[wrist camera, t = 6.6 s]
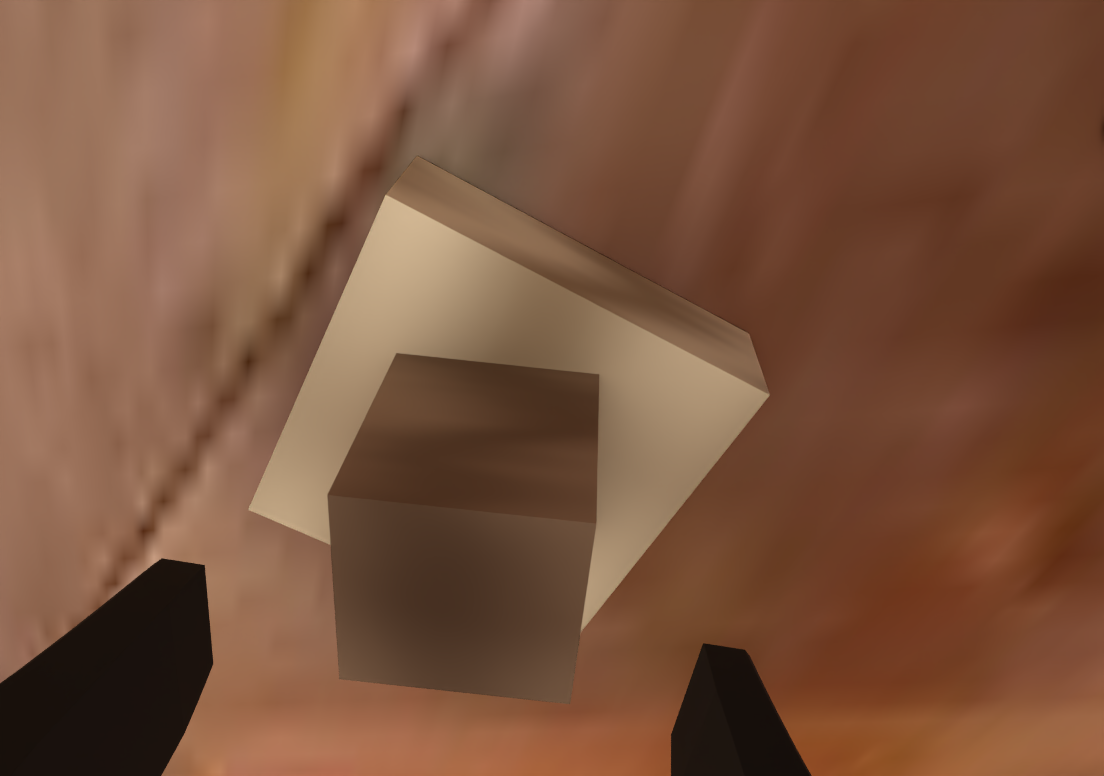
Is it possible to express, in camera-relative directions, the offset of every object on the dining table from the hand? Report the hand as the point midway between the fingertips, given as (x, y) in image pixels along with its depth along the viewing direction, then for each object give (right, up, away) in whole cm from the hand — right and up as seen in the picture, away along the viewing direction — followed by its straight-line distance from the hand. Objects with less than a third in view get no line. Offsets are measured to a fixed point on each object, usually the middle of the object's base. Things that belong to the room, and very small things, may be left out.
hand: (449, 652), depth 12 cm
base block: (0, +4, +10) cm, 10 cm away
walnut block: (0, +3, +7) cm, 7 cm away
